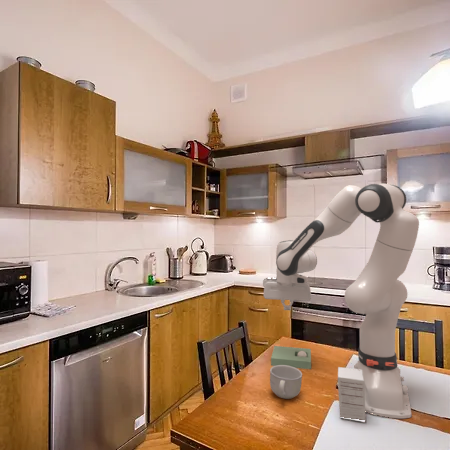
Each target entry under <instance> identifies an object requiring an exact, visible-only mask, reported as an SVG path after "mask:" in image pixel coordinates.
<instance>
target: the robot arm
mask: <svg viewBox="0 0 450 450" xmlns="http://www.w3.org/2000/svg"><path fill="white" fill-rule="evenodd" d="M406 203H407V194H406V193H405V191H404V190H403V189H402V188H401V187H399V186H397V185H395V184H389V183H371V184H368V185H365V186H363V187H362V188H361V187H360V186H358V185H354V184H349V185H345V186H344V187H343V188H342V189H341V190H339V191H338V192H337V194H336V195H334V197H333V198H332V199H331V200H330V201H329V203H328V204H327V205H326V207H325V208H324V209H323V210H322V211H321V212H320V213H319V215H318V216H317V217H315V218H314V220H313V221H312V222H311V223H309V224H308V225H307V226H306V227H305V228H304V229H303V230H302V231H301V232H300V234H298V236H297V237H295V239H294V240H293V239H292V240H290V239H289V240H283V241H282V240H281V241H280V242H278V244H277V245H276V251H275V253H276V254H275V255H276V256H275V259H276V262H275V265H276V277H265V278H264V279H263V280H262V286H263V298H264V299H265V300H278V301H279V300H280V303H281V304H282V307H283V310H284V311H291V310H292V305H293V304H294V301H305V302H306V301H307V302H310V301H311V299H312V292H311V287H310V284H309V282H308V281H309V279H308V277H307V276H305V275H303V273H308V272H311V271H313V270H314V269H316V267H317V264H318V258H317V255H316V253H315V251H313V250H312V249H311V248H312V247H313V246H314V245H315V244H316V243H318V242H320V241H322V240H325V239H329V238H333V237H336V236H340V235H341V234H343V233H345V231H347V230H348V229H349V228H350V227H351V226H352V225H353V223H355V221H356V220H357V219H358V217H359V216H360V215H361V214H362V215H363V216H365V217H368V219H370V220H372V221H373V222H375V223H377V224H378V223H379V224H380V225H379V227H380V228H379V232H378V234H377V237H376V239H375V243H374V245H373V249H372V251H371V254H370V257H369V259H368V261H367V263H366V265H365V266H364V268H363V269H362V270H361V272H360V273H359V275H358V277H357V278H356V279H355V281H353V282H352V283H351V284H350V285H349V286H348V287H346V289H345V291H344V301H345V304H346V306H347V307H348V309H349V310H350V311H352V312H353V313H355V314H360V315H365V317H364V320H362V322H361V323H360V326H359V347H358V351H357V355H358V361H357V362H356V363H354V364H353V369H361V370H362V371H363V378H364V391H365V411H366V412H365V413H367V412H369V413H373V414H376V415H375V416H377V415H380V416H379V417H382V416H385V417H384V418H388V417H389V418H390V419H409V418H412V409H411V404H410V398H409V389H408V386H407V385H402V382H404V381H405V380H404V379H405V377H404V376H401V368H399V366H398V357H397V353H396V328H397V323H398V320H399V316H400V312H401V309H402V307H403V305H404V304H405V302H406V300H407V298H408V290H407V287H406V285H405V284H404V283H403V282H402V281H401V280H399V278H400V276H402V275H403V274H404V273H405V271H406V270H407V266H408V265H409V261H410V259H411V256H412V254H413V250H414V248H415V245H416V242H417V238H418V233H419V226H420V222H419V218H418V217H417V216H416V215H415V214H414V213H412V212H410V211H408V210H404V208H405V206H406ZM288 300H289V304H288V305H287V304H286V303H285V301H288ZM369 413H368V414H369ZM373 414H372V415H373Z"/></svg>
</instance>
